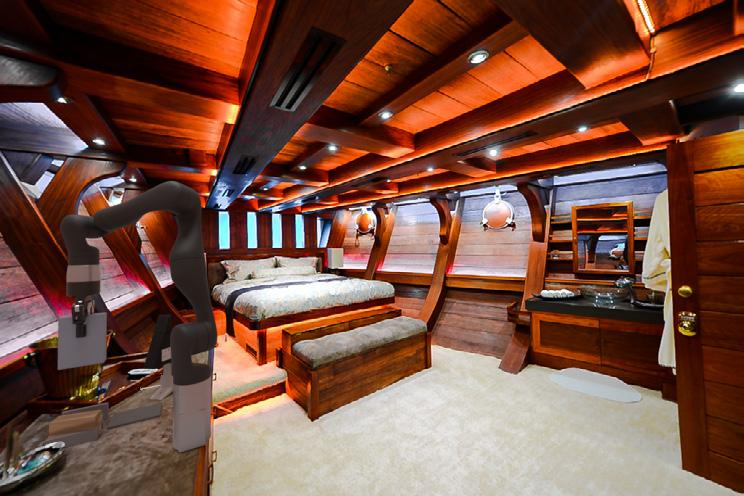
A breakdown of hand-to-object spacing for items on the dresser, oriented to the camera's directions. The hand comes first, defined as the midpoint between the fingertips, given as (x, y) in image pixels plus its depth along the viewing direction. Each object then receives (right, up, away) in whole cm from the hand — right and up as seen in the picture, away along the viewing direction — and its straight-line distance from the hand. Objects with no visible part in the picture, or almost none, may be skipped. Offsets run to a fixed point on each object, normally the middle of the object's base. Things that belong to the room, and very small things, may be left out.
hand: (83, 335), depth 91 cm
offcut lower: (+4, -28, -6) cm, 29 cm away
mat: (+11, -28, +6) cm, 31 cm away
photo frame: (+1, -30, +35) cm, 46 cm away
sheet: (0, -9, 0) cm, 9 cm away
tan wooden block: (+2, -28, -3) cm, 28 cm away
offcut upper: (+4, -25, -6) cm, 26 cm away
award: (+10, -29, +22) cm, 38 cm away
